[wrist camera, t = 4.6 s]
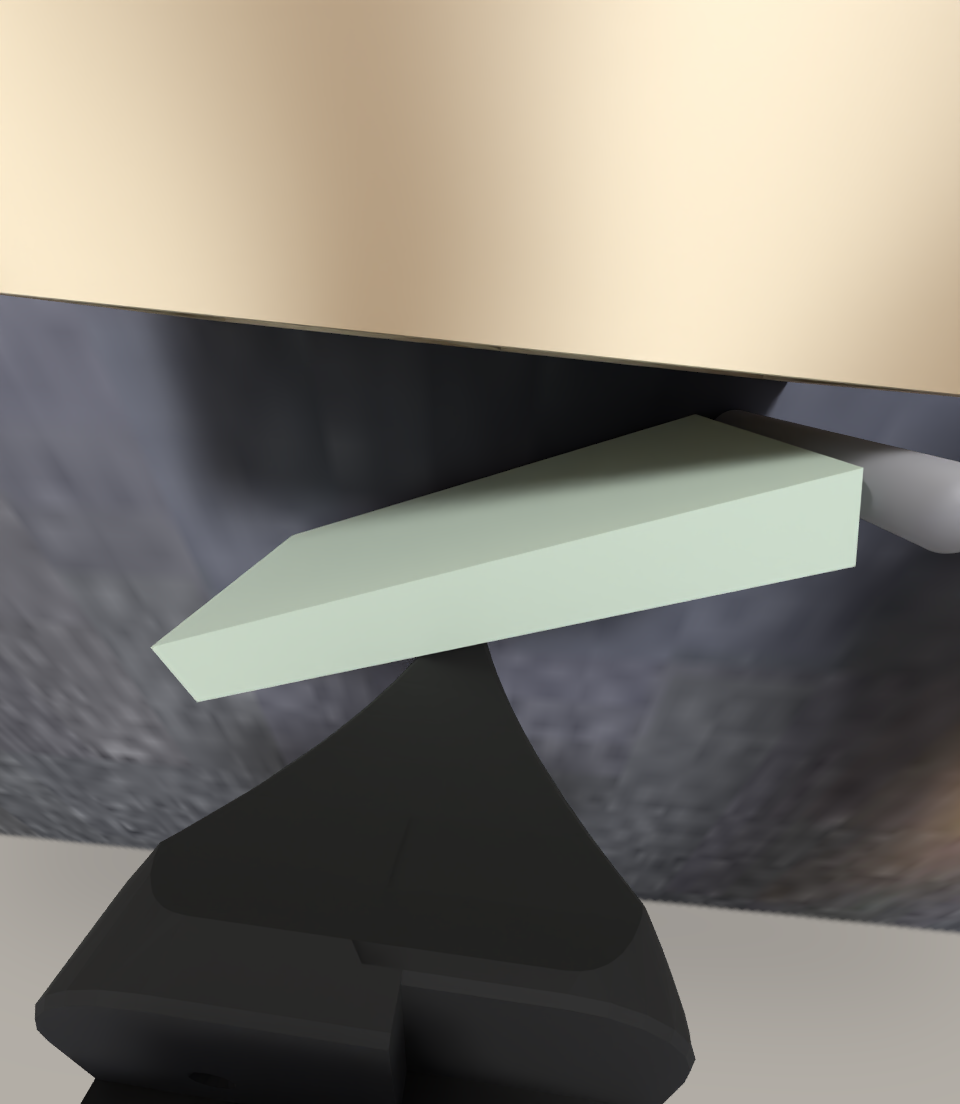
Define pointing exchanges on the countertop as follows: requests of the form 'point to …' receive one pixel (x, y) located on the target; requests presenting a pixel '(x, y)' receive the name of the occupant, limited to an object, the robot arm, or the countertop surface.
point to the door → (564, 548)
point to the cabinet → (503, 175)
